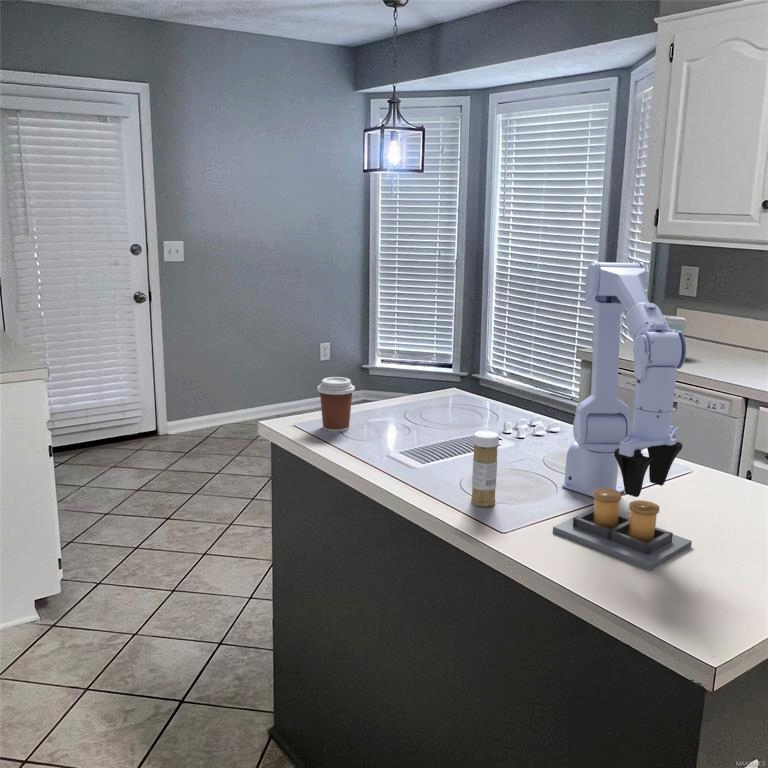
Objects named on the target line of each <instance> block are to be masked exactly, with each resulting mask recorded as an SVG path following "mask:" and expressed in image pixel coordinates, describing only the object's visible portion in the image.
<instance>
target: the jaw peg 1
mask: <svg viewBox="0 0 768 768" xmlns="http://www.w3.org/2000/svg"><path fill="white" fill-rule="evenodd" d="M592 498H593V499H594V500H593V509H594V521H593V523H595V524H598V525H600V526H603V527H606V528H608V529H612V528H614V527H616V526H618V514H620V513H619V512H620V511H619V510H620V509H619V508H620V501H621V500H622V492H621V493H620V492H619V491H617V490H614V489H609V488H600V489H596V490H594V491H593V497H592Z"/></svg>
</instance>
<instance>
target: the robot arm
mask: <svg viewBox="0 0 768 768" xmlns="http://www.w3.org/2000/svg"><path fill="white" fill-rule="evenodd" d="M584 282H585V283H584V286H585V287H584V301H585V306H587V307H588V308H591V309H592V312H593V314H592V315H593V339H592V362H591V364H592V366H591V367H592V368H591V371H592V372H591V390H590V391H591V394H590V395H589V396H588V397H587V398H585V399H584V400H582V401H580V403H578V404H577V405H576V408H575V413H574V414H575V416H574V420H573V425H572V426H573V427H572V429H573V430H572V431H573V438H574V441H573V442H572V443H571V444H570V446H569V448H568V450H567V452H566V458H565V459H566V460H565V471H564V472H565V473H564V483H561V487H563V488H565V489H569V490H571V491H575V492H577V493H580V494H583V495H585V496H589V497H592V498H593V491H594V490H596V489H600V488H609V489H614V490H617V491H619V492H620V493H621V494H622V493H625V494H626V495H628V496H631V497H635V498H638V497H639V496H640V494H641V493H642V488H643V484H644V479H645V476H646V472H647V470H648V468H649V471H648V472H649V473H648V475H649V476H648V477H649V482H650V483H651V484H654V485H658V486H661V487H662V486H664V485H665V482H666V480H667V477H668V475H669V472H670V469H671V467H672V465H673V463H674V461H675V459H676V457H677V455H678V454H679V453H680V452H681V450H682V449H683V443H682V442H679V441H677V440H678V438H679V430H680V428H679V427H678V426H674V425H672V421H673V420H672V418H673V410H674V401H675V392H676V383H677V374H678V369H681V368H683V365H684V364H685V361H686V357H687V341H686V339H685V336H684V334H683V333H682V332H681V331H676V330H675V329H670V328H669V326H668V324H667V322H666V320H665V318H664V316H663V312H662V311H661V308H660V307H659V306H658V305H657V304H655V303H652V302H649V299H648V295H647V293H646V292H647V291H646V290H647V288H648V283H649V272H648V268H647V266H646V265H645V263H644V262H642V261H638V262H606V261H605V262H604V261H603V262H598V261H595V260H594V261H592V262H591V263H590V264H589V266H588V267H587V270H586V274H585V280H584ZM624 310H625V311H626V312H627V313H626V315H625V326H626V327H627V330H628V332H629V334H630V337H631V339H632V341H633V342H634V344H633V361H634V370H633V371H634V372H633V373H634V377H635V378H636V385H635V392H634V393H635V395H634V402H633V403H634V405H633V415H632V420H631V409H630V407H629V406H628V405H627V404H626V402H623V400H621V398H620V399H619V397H618V391H619V390H618V389H619V388H618V387H619V386H618V385H619V367H620V366H619V363H620V362H619V361H620V360H619V359H620V337H621V336H620V335H621V315H622V313H623V312H624ZM645 449H647V453H648V456H646V455H644V453H642V451H644V450H645ZM619 469H620V472H621V477H622V481H623V482H622V483H623V487H622V486H620V485H619V486H618V485H617V484H618V475H619V474H618V472H619Z"/></svg>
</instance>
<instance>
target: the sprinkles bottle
mask: <svg viewBox="0 0 768 768" xmlns="http://www.w3.org/2000/svg"><path fill="white" fill-rule="evenodd" d="M472 439H473V460H472V477H471V478H472V479H471V485H472V486H471V498H470V499H471V503H472V504H473V505H475V506H477V507H481V508H482V507H483V508H487V507H488V508H489V507H492V506H494V505H495V504H496V487H497V475H498V473H497V472H498V447H499V444H500V442H499V441H500V435H499V434H498V432H493V431H491V430H490V431H489V430H479V431H476V432H474V433H473V438H472Z"/></svg>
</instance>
